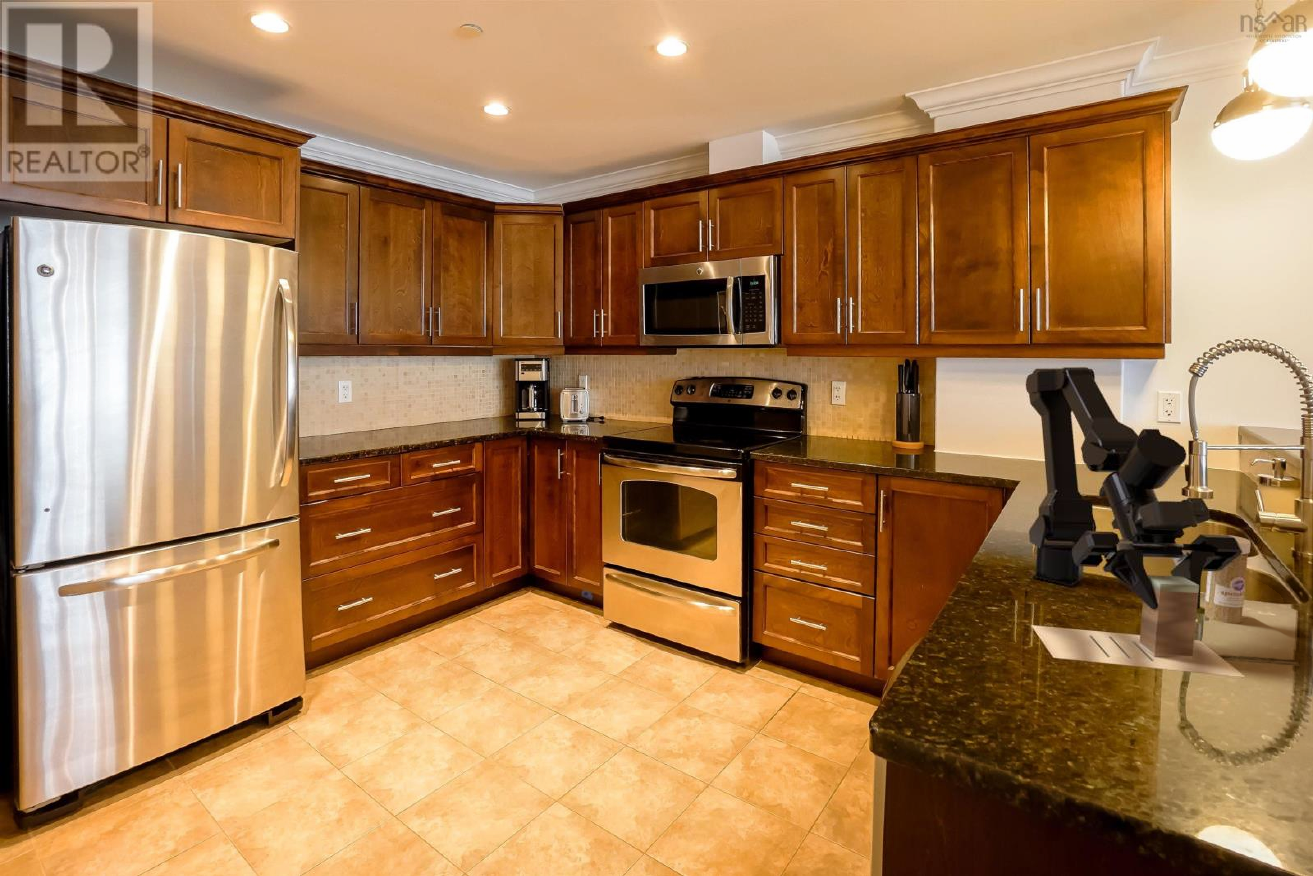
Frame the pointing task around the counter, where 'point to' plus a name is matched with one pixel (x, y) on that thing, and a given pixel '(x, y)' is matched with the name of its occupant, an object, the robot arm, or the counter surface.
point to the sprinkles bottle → (1228, 588)
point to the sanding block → (1170, 618)
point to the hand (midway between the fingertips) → (1175, 608)
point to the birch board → (1127, 651)
